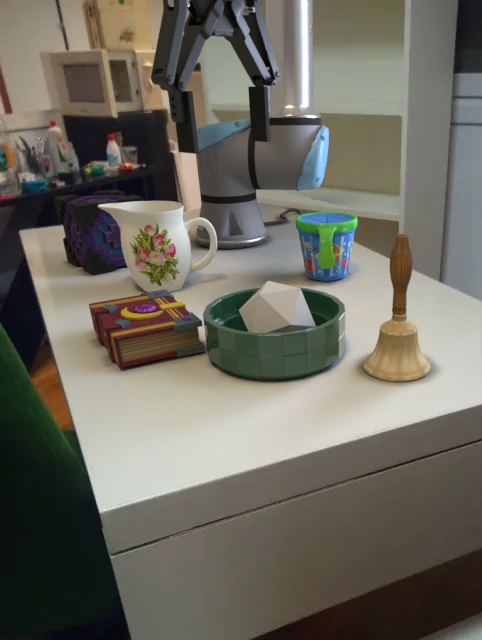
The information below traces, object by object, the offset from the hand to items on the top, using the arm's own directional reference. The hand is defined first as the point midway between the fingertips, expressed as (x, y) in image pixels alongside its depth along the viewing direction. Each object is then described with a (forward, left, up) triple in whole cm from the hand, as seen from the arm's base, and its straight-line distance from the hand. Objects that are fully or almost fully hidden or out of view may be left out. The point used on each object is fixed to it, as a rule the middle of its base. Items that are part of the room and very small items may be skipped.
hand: (227, 146), depth 77 cm
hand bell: (+2, +28, -23) cm, 36 cm away
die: (+7, +13, -23) cm, 27 cm away
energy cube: (-8, -41, -23) cm, 48 cm away
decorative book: (+14, -4, -23) cm, 28 cm away
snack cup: (-24, -1, -23) cm, 33 cm away
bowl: (+7, +13, -23) cm, 27 cm away
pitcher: (-4, -20, -23) cm, 31 cm away
